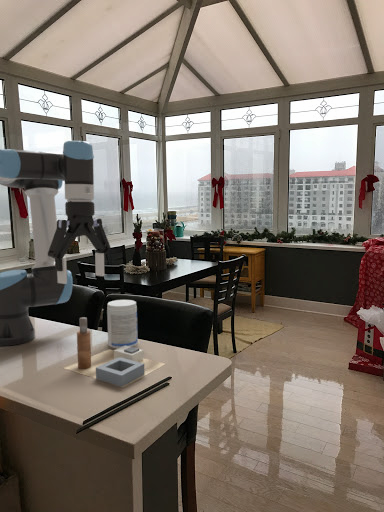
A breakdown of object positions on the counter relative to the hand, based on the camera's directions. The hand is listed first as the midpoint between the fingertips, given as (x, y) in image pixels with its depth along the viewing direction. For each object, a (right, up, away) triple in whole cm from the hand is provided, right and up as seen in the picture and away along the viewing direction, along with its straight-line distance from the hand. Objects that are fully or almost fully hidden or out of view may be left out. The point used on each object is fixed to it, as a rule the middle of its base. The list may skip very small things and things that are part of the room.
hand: (82, 279), depth 112 cm
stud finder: (+11, -24, +8) cm, 28 cm away
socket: (+11, -26, -3) cm, 28 cm away
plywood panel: (+8, -26, +4) cm, 27 cm away
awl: (0, -25, +3) cm, 25 cm away
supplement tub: (+7, -24, +23) cm, 34 cm away
